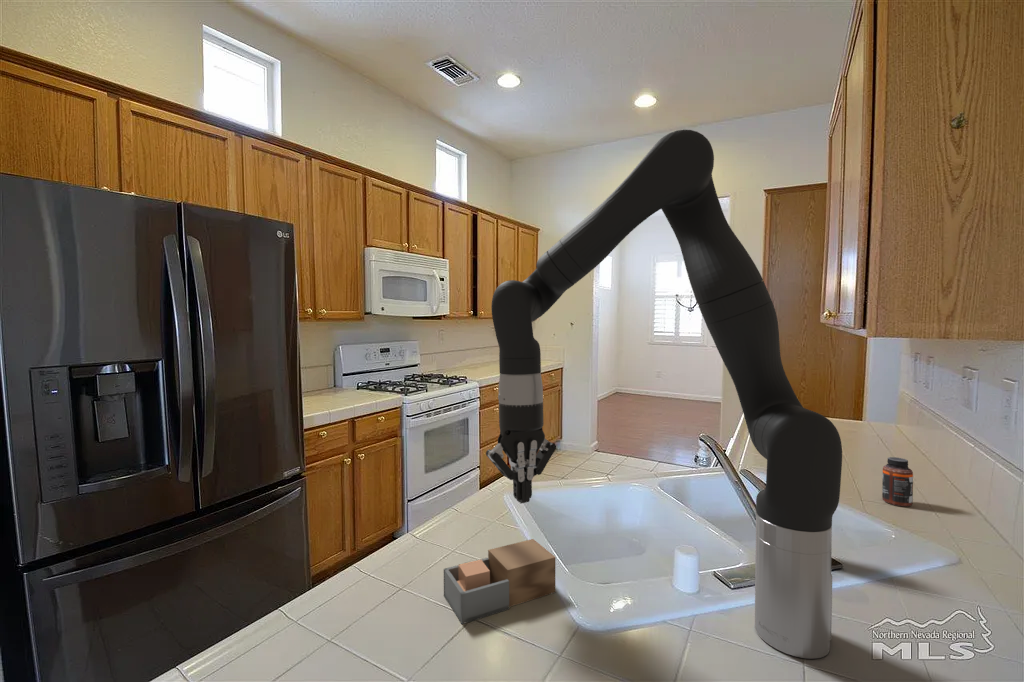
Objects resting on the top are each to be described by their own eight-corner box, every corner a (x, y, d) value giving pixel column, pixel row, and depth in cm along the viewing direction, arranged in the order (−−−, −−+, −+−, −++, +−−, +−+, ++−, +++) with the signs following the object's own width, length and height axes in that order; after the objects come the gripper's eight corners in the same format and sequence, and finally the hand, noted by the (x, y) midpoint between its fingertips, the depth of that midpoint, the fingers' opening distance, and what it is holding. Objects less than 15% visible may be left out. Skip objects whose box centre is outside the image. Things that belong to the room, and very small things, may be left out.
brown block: (533, 571, 83) (533, 538, 83) (555, 592, 76) (555, 557, 76) (488, 583, 79) (488, 549, 79) (507, 607, 72) (507, 570, 72)
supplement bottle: (919, 507, 113) (920, 462, 112) (894, 507, 113) (895, 462, 112) (899, 498, 119) (900, 455, 118) (876, 498, 119) (876, 455, 118)
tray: (487, 583, 79) (487, 557, 79) (509, 609, 72) (509, 581, 72) (443, 595, 75) (443, 568, 75) (461, 624, 68) (461, 594, 68)
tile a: (481, 574, 76) (481, 559, 76) (489, 586, 73) (489, 571, 72) (458, 579, 75) (458, 564, 75) (466, 592, 71) (466, 576, 71)
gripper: (495, 406, 70) (497, 517, 71) (565, 399, 76) (567, 500, 77) (476, 400, 77) (478, 501, 77) (542, 394, 83) (544, 487, 83)
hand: (523, 501), depth 77 cm, fingers closed
